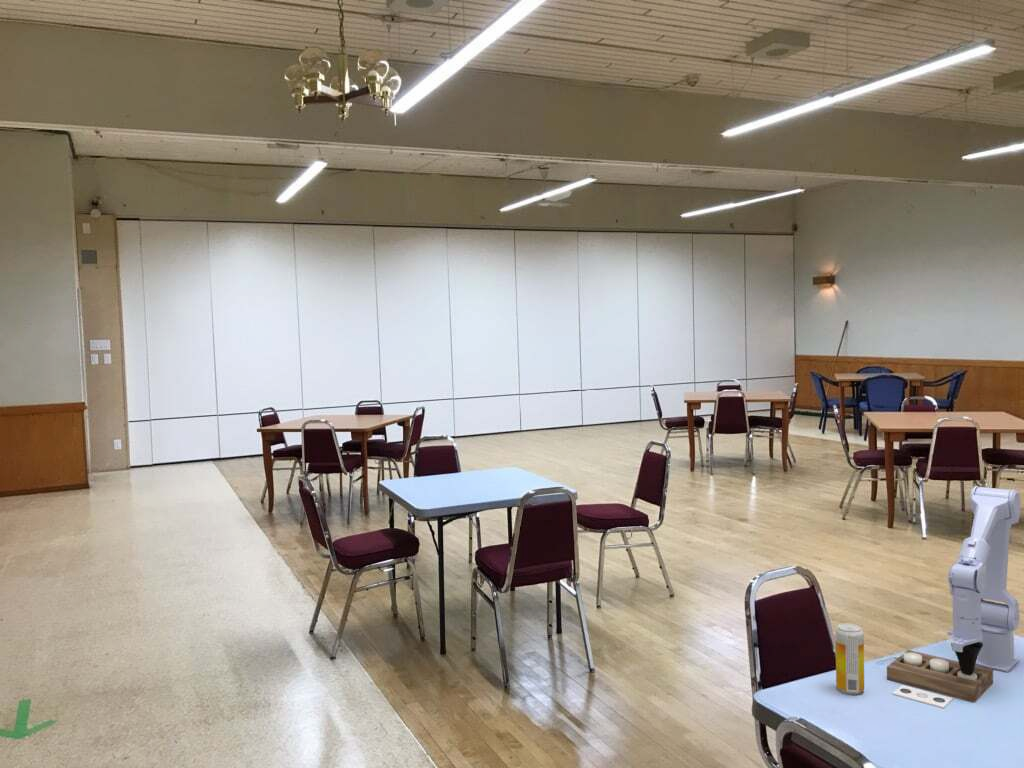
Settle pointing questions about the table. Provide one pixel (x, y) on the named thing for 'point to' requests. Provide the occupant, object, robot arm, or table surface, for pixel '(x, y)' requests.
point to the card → (922, 696)
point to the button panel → (940, 678)
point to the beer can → (850, 658)
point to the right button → (967, 676)
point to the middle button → (939, 665)
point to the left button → (913, 659)
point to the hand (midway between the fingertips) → (967, 673)
